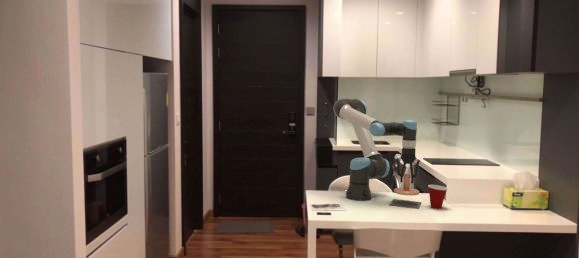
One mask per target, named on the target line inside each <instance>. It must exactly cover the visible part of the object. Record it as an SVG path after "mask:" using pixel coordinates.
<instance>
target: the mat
mask: <svg viewBox="0 0 579 258" xmlns="http://www.w3.org/2000/svg"><path fill="white" fill-rule="evenodd" d="M388 205H389V206H392V207H400V208H408V209H416V210H419V209H420V207H421V205H422V201H415V200H405V199H399V198H398V199H397V198H393V199H392V200H391V202H390V203H389V204H388Z"/></svg>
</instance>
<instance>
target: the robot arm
mask: <svg viewBox="0 0 579 258" xmlns="http://www.w3.org/2000/svg"><path fill="white" fill-rule="evenodd" d="M332 109H333V113H334V115H335V116H336V117H338V118H340V119H341V120H348V123H350V124H351V125H352V128H353V130H354V133H355V135H356V137H357V140H358V143H359V145H360V149H361V150H362V154H363V157H355V158H353V159H351V160H350V165H349V184H348V187H347V189H346V192H345V197H346V199H349V200H353V201H369V200H371V199H372V191H371V187H370V180H375V179H382V178H385V177H387V176H388V175H389V173H390V172H389V171H390V162H389V161H388V160H387V159H386V158H383V156H382V153H380V152H379V151H378V149H377V147H376V144H375V142H374V139H373V137H386V136H387V137H391V136H396V137H397V136H399V137H402V141H401V143H402V145H401V146H402V148H401V155H400V157H396V159H395V160H396V163H397V170H396V171H397V175H398V176H399V177H400V183H401V184H402V185H401V188H402V189H403V188H404V174H405V170H406V166H407V165H409V170H410V186H409V189H411V188H412V184H414V183H415V182H414V179H415V178H417V176H418V172H419V165H420V162H421V159H418V158H417V157H416V147H417V131H418V127H417V126H418V122H417V121H416V120H412V119H405V120H403V121H402V122H398V121H397V122H396V121H389V122H382V121H379V120H378V119H375V118H373V117H372V116H369V115H367V113H368V106H367V104H366V102H365V101H364V100H362V99H361V98H360V99H359V98H341V99H337V100H336V101H335V103H334V104H333V107H332ZM401 161H402V162H403V164H402V169H401ZM413 163H416V164H415V171H414V165H413Z"/></svg>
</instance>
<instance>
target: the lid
mask: <svg viewBox="0 0 579 258" xmlns="http://www.w3.org/2000/svg"><path fill="white" fill-rule="evenodd" d="M403 176H404V188H403V189H402V187H396V188H394V189H393V193H394V194H396V195H402V196H417V195H420V190H418V189H416V188H413V187H411V189H409V186H410V177H411V173H410V174H409V173H404V175H403Z"/></svg>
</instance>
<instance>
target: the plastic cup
mask: <svg viewBox="0 0 579 258" xmlns="http://www.w3.org/2000/svg"><path fill="white" fill-rule="evenodd" d="M427 187H428V193H429V202H430V204H429V205H430V208H432V209H438V210H440V209H442V207H443V204H444V201H445V196H446V193H447V191H448V188H447V187H446V186H444V185H443V186H442V185H438V184H428V185H427Z"/></svg>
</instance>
